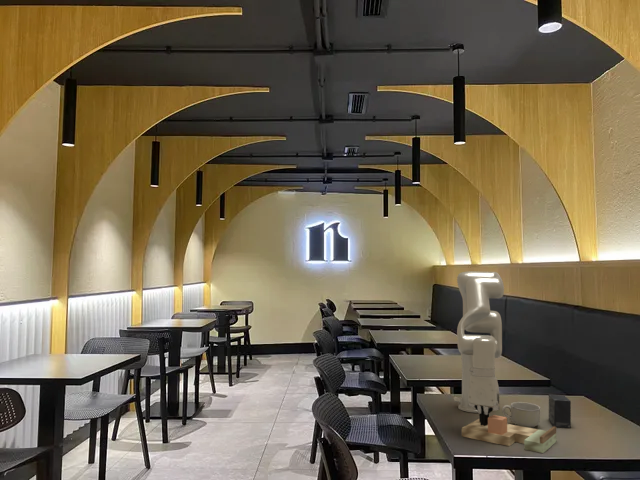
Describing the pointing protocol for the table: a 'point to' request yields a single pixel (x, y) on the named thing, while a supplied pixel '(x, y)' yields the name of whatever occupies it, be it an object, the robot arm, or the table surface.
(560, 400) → the small box
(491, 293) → the robot arm
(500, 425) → the block
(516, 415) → the teacup
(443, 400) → the table surface
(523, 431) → the board
